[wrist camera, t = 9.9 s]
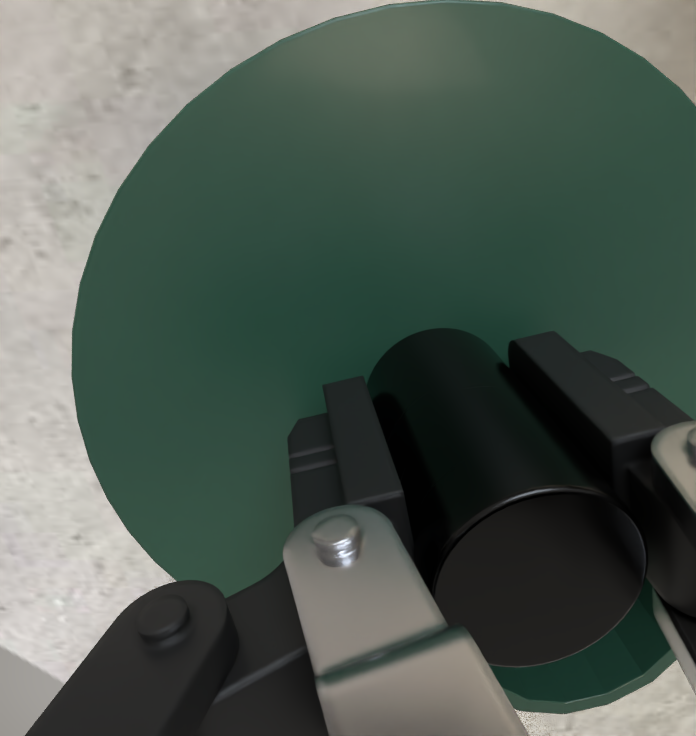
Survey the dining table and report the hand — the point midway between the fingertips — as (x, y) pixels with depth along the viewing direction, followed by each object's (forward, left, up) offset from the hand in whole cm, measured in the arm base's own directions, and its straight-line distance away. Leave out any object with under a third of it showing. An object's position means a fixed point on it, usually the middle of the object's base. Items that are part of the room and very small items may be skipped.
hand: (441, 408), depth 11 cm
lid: (0, 0, -1) cm, 1 cm away
